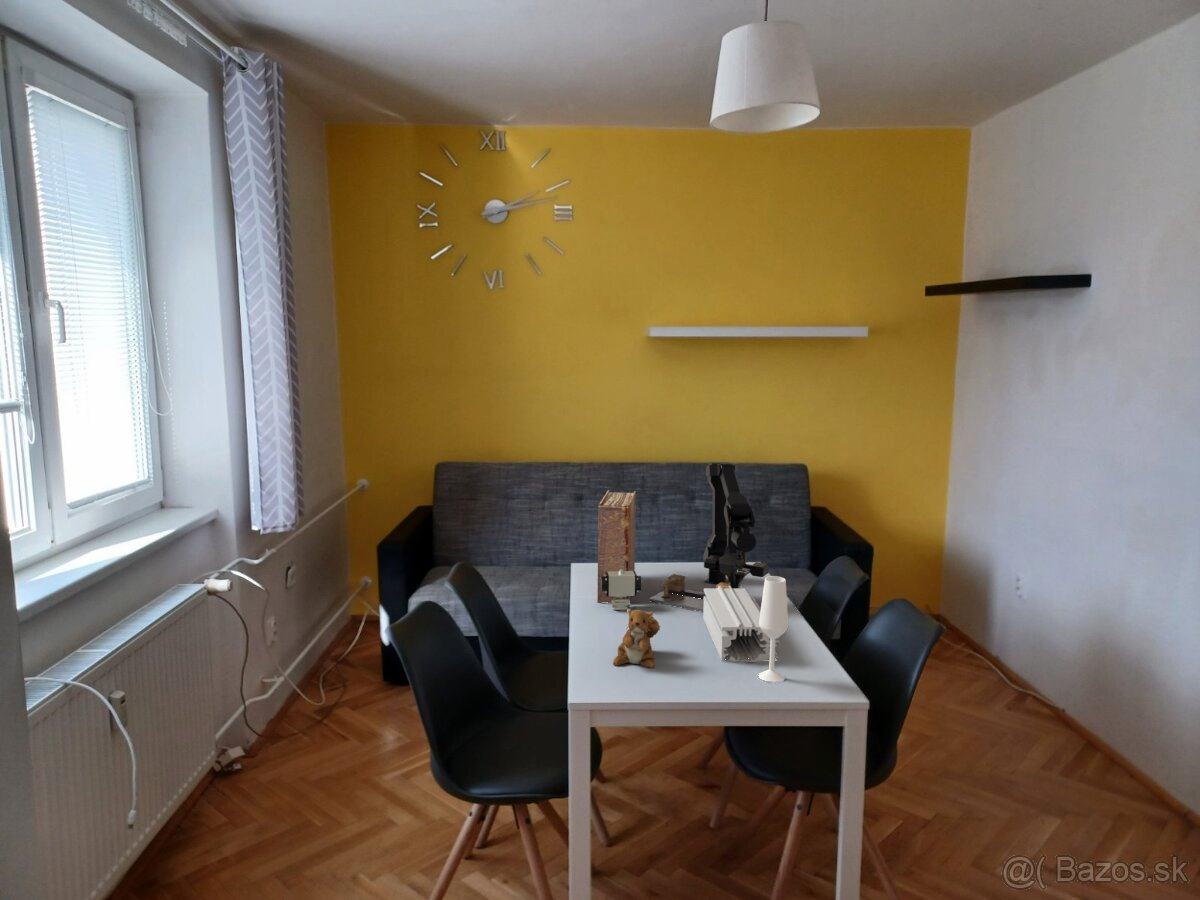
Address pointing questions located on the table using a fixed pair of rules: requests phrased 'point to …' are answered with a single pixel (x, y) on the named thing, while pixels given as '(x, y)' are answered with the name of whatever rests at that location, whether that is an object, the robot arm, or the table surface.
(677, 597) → the bolt-hole strip
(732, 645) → the aluminum extrusion profile
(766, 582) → the champagne flute
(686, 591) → the rail
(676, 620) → the table surface
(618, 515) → the book
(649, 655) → the stuffed squirrel
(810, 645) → the table surface
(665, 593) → the fixed leg
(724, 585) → the sliding leg
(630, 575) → the pneumatic valve
